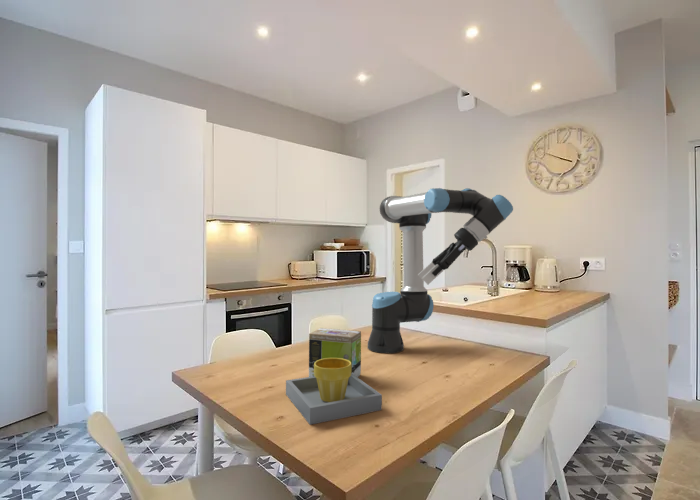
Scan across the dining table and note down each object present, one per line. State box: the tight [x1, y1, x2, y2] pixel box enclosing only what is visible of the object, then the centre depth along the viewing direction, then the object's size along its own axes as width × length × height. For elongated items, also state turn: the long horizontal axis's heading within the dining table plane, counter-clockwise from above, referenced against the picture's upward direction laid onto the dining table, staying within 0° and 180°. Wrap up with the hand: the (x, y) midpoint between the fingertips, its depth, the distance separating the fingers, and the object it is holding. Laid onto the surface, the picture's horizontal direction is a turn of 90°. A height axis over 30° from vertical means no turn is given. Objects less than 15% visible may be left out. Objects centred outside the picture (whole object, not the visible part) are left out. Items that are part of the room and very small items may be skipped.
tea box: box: [308, 327, 362, 378], centre depth 123 cm, size 15×10×15 cm, turn 71°
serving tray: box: [285, 373, 383, 426], centre depth 103 cm, size 20×20×4 cm
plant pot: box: [314, 358, 352, 402], centre depth 103 cm, size 10×10×10 cm
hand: (422, 279), depth 123 cm, fingers open, 13 cm apart
